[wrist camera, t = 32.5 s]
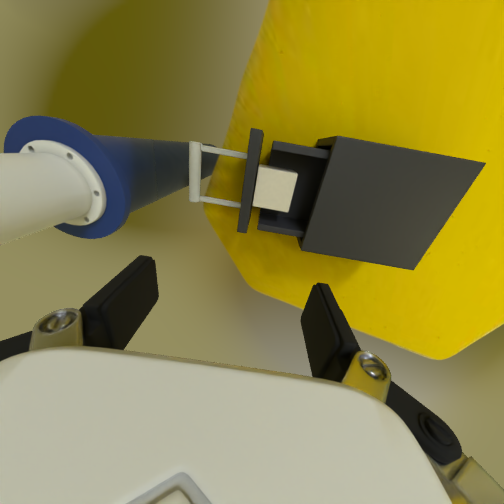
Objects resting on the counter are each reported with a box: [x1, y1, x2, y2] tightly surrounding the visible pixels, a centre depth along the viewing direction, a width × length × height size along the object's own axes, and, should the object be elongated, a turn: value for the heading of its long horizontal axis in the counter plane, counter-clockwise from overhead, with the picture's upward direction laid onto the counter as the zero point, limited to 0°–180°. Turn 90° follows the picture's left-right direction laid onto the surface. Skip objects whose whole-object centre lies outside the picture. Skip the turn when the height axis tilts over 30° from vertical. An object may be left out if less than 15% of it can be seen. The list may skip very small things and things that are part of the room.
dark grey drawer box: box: [297, 136, 486, 270], centre depth 25 cm, size 15×13×8 cm
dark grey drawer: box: [189, 128, 330, 238], centre depth 25 cm, size 21×11×6 cm, turn 81°
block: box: [252, 164, 298, 212], centre depth 25 cm, size 4×4×4 cm
